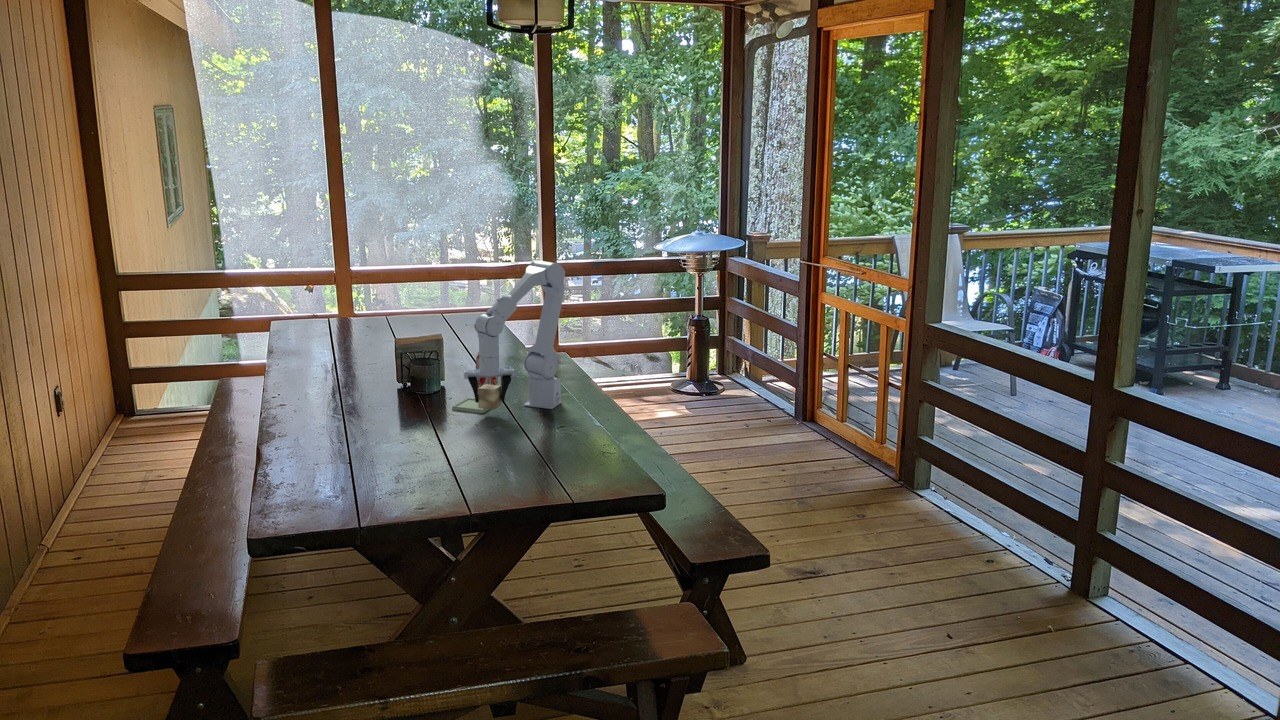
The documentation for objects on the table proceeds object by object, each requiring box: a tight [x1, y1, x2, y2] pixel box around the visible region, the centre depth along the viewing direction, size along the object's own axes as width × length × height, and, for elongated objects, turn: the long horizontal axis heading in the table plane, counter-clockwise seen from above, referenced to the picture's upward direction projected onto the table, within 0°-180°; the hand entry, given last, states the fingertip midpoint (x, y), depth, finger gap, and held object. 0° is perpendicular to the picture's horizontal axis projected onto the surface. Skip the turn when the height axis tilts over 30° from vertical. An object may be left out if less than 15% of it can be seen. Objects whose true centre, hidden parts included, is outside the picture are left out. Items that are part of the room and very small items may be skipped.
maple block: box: [478, 384, 502, 411], centre depth 271 cm, size 5×5×6 cm
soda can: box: [475, 351, 499, 388], centre depth 300 cm, size 7×7×12 cm
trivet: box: [451, 397, 490, 415], centre depth 281 cm, size 10×10×1 cm
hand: (489, 401), depth 272 cm, fingers closed on maple block, 7 cm apart
